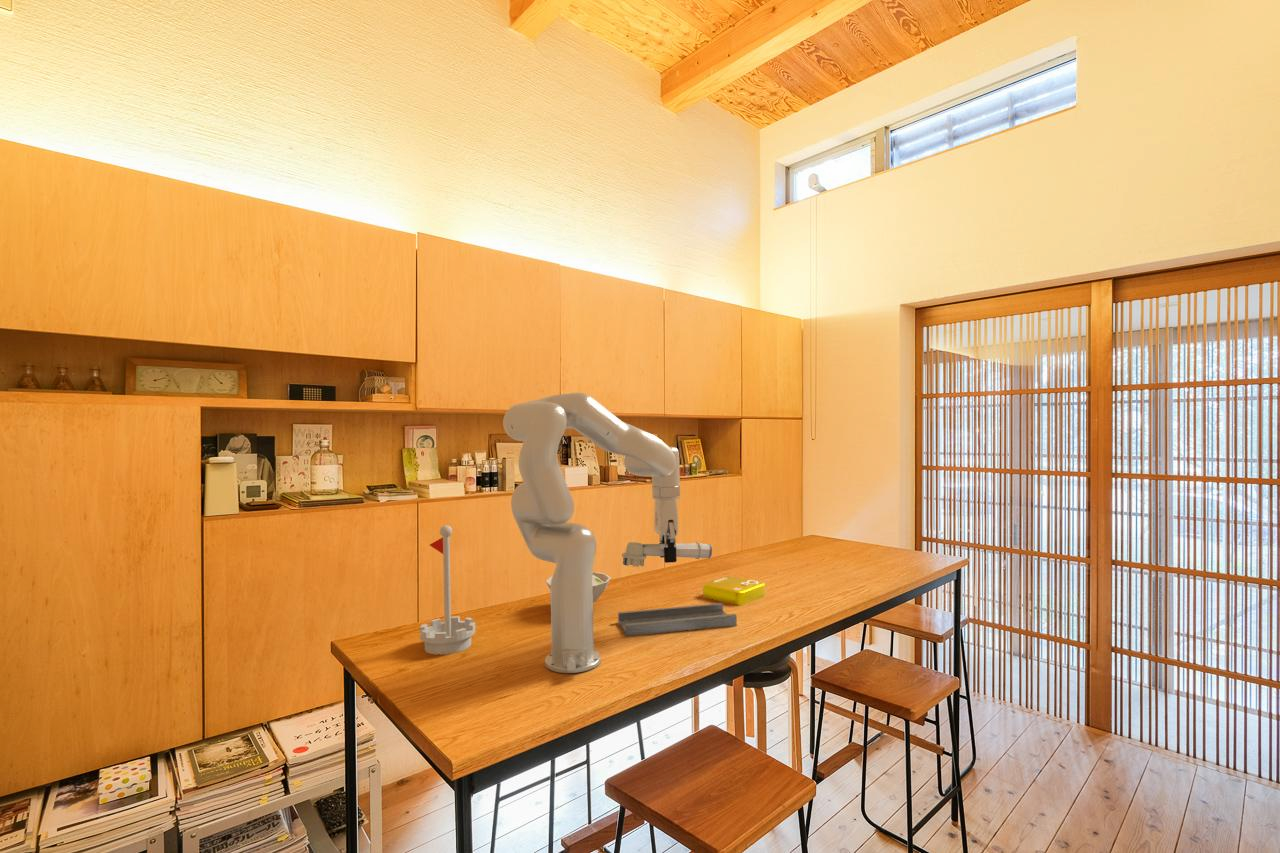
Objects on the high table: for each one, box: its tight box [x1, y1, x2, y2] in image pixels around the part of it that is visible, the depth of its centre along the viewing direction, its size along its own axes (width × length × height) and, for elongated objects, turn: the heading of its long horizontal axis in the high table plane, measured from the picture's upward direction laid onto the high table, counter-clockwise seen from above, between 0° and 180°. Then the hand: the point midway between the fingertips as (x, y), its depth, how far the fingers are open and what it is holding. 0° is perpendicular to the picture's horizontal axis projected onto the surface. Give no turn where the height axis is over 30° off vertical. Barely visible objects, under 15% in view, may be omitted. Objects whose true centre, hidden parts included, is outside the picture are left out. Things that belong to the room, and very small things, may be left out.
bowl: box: [545, 571, 611, 604], centre depth 173 cm, size 19×19×10 cm
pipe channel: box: [617, 602, 738, 638], centre depth 158 cm, size 11×30×3 cm, turn 103°
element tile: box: [702, 575, 766, 606], centre depth 184 cm, size 15×15×5 cm
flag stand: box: [419, 524, 476, 656], centre depth 145 cm, size 13×13×30 cm
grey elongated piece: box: [621, 541, 713, 568], centre depth 158 cm, size 5×7×25 cm
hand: (667, 558), depth 158 cm, fingers closed on grey elongated piece, 5 cm apart
